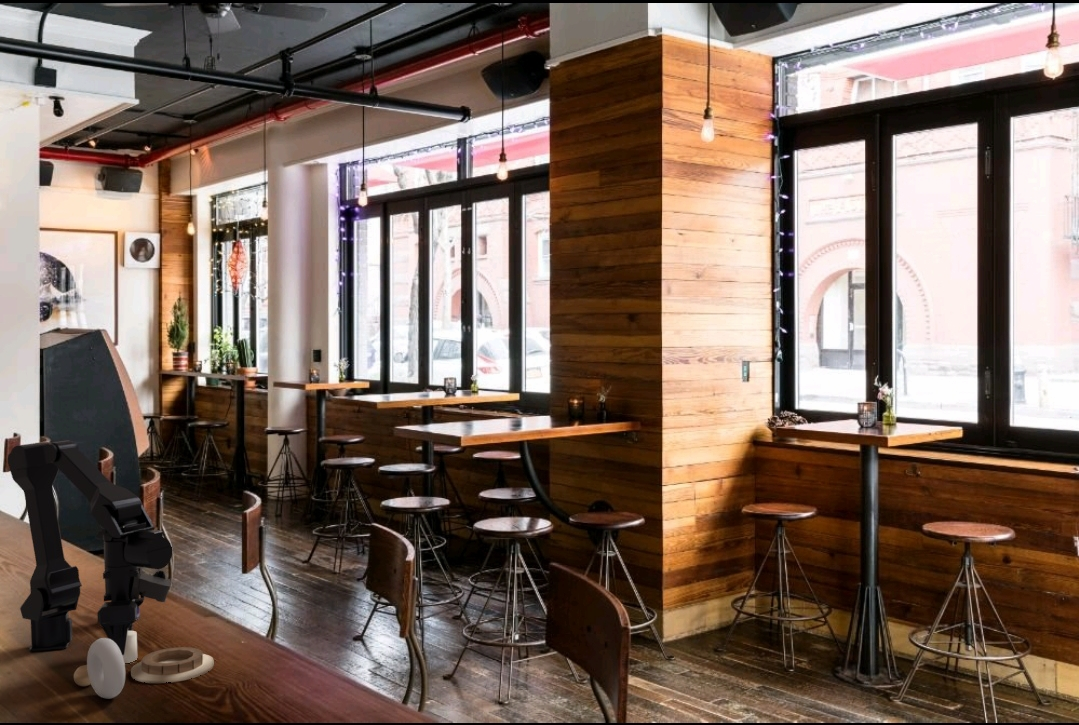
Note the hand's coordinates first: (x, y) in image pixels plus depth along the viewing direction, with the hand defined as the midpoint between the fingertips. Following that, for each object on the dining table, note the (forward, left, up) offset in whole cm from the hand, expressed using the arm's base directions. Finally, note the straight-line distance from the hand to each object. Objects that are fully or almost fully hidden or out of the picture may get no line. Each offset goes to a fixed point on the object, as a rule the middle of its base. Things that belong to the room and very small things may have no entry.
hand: (124, 647), depth 190 cm
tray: (+9, -8, -2) cm, 12 cm away
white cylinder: (0, 0, -2) cm, 3 cm away
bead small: (-5, -12, -2) cm, 13 cm away
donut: (-1, -19, -3) cm, 20 cm away
